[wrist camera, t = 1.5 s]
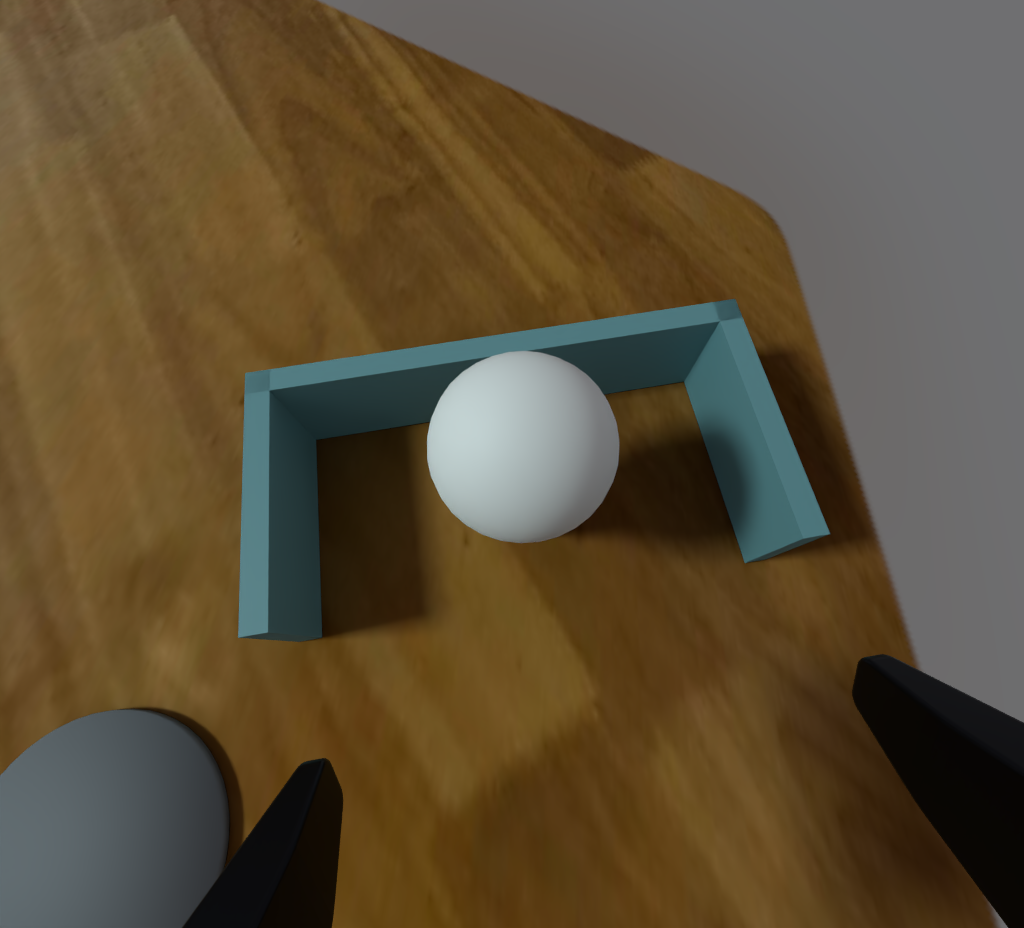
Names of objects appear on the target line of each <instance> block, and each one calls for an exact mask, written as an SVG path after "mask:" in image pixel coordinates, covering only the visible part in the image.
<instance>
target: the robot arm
mask: <svg viewBox="0 0 1024 928" xmlns="http://www.w3.org/2000/svg"><path fill="white" fill-rule="evenodd" d="M852 695H853V700H854V703H855V705H856V707H857V709H858V710H859V712H860V714H861V715H862V717H863V719H864V720H865V722H866V723H867V725H868V727H869V728H870V730H871V731H872V733H873V735H874V736H875V738H876V740H877V741H878V743H879V744H880V746H881V748H882V749H883V751H884V752H885V754H886V756H887V757H888V759H889V761H890V762H891V764H892V765H893V767H894V769H895V770H896V772H897V774H898V775H899V777H900V778H901V780H902V782H903V783H904V785H905V786H906V788H907V789H908V791H909V792H910V794H911V796H912V797H913V799H914V800H915V802H916V803H917V804H918V806H919V807H920V809H921V810H922V811H923V813H924V814H925V816H926V817H927V818H928V820H929V821H930V822H931V824H932V825H933V826H934V828H935V829H936V831H937V832H938V833H939V835H940V836H941V837H942V839H943V840H944V841H945V843H946V844H947V845H948V847H949V848H950V849H951V851H952V852H953V854H954V855H955V856H956V858H957V859H958V860H959V862H960V863H961V864H962V866H963V867H964V868H965V870H966V871H967V873H968V874H969V875H970V877H971V878H972V879H973V881H974V882H975V883H976V885H977V886H978V887H979V889H980V890H981V891H982V893H983V894H984V896H985V897H986V898H987V900H988V901H989V902H990V904H991V905H992V906H993V908H994V909H995V910H996V912H997V913H998V914H999V916H1000V917H1001V919H1002V920H1003V921H1004V923H1005V924H1006V925H1007V927H1008V928H1024V723H1023V722H1021V721H1019V720H1017V719H1015V718H1013V717H1011V716H1009V715H1007V714H1005V713H1003V712H1001V711H999V710H997V709H995V708H993V707H991V706H989V705H987V704H985V703H983V702H981V701H979V700H977V699H975V698H973V697H971V696H969V695H967V694H965V693H963V692H961V691H959V690H957V689H955V688H953V687H951V686H949V685H947V684H945V683H943V682H941V681H939V680H937V679H935V678H933V677H931V676H929V675H927V674H925V673H923V672H921V671H919V670H917V669H915V668H913V667H911V666H909V665H907V664H905V663H903V662H901V661H899V660H897V659H895V658H893V657H891V656H888V655H884V654H882V655H875V656H869V657H864V658H862V659H861V660H859V662H858V665H857V670H856V675H855V679H854V684H853V689H852ZM342 811H343V793H342V789H341V786H340V784H339V781H338V779H337V777H336V774H335V772H334V770H333V767H332V765H331V763H330V761H329V760H328V759H326V758H322V759H316V760H311V761H306V762H303V763H302V764H301V765H300V766H298V768H297V769H296V770H295V772H294V773H293V774H292V776H291V777H290V779H289V780H288V781H287V783H286V784H285V786H284V787H283V788H282V790H281V791H280V792H279V794H278V795H277V797H276V798H275V799H274V801H273V802H272V804H271V805H270V806H269V808H268V809H267V810H266V812H265V813H264V815H263V816H262V817H261V819H260V820H259V822H258V823H257V824H256V826H255V827H254V828H253V830H252V831H251V833H250V834H249V835H248V837H247V838H246V840H245V841H244V842H243V844H242V845H241V846H240V848H239V849H238V851H237V852H236V853H235V855H234V856H233V858H232V859H231V860H230V862H229V863H228V864H227V866H226V867H225V869H224V870H223V871H222V873H221V874H220V876H219V877H218V878H217V880H216V881H215V882H214V884H213V885H212V887H211V888H210V889H209V891H208V892H207V894H206V895H205V896H204V898H203V899H202V900H201V902H200V903H199V905H198V906H197V907H196V909H195V910H194V912H193V913H192V914H191V916H190V917H189V918H188V920H187V921H186V923H185V924H184V925H183V927H182V928H332V922H333V914H334V904H335V894H336V882H337V870H338V859H339V847H340V835H341V823H342Z"/></svg>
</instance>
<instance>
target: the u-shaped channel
mask: <svg viewBox="0 0 1024 928" xmlns="http://www.w3.org/2000/svg"><path fill="white" fill-rule="evenodd" d="M515 351H531V352H541V353H544V354H548V355H551V356H555V357H558V358H560V359H562V360H564V361H566V362H568V363H571V364H573V365H574V366H576V367H577V368H579V369H580V370H581V371H583V372H584V373H585V374H587V375H588V376H589V377H590V378H591V379H592V380H593V381H594V382H595V383H596V385H597V386H598V387H599V388H600V390H601V391H602V393H603V394H608V393H615V392H621V391H627V390H634V389H640V388H646V387H653V386H659V385H665V384H672V383H678V382H684V383H685V386H686V389H687V392H688V395H689V398H690V401H691V404H692V407H693V410H694V413H695V416H696V419H697V422H698V425H699V428H700V431H701V434H702V436H703V439H704V442H705V445H706V448H707V451H708V454H709V457H710V460H711V463H712V466H713V469H714V472H715V475H716V478H717V481H718V484H719V487H720V490H721V493H722V496H723V499H724V502H725V505H726V508H727V511H728V514H729V517H730V520H731V523H732V526H733V529H734V532H735V535H736V538H737V541H738V544H739V547H740V550H741V553H742V556H743V559H744V562H745V563H747V562H753V561H759V560H764V559H768V558H771V557H773V556H776V555H778V554H781V553H783V552H786V551H788V550H791V549H793V548H796V547H798V546H801V545H803V544H806V543H808V542H811V541H813V540H816V539H818V538H821V537H824V536H826V535H829V534H830V532H829V530H828V527H827V525H826V523H825V520H824V518H823V515H822V513H821V510H820V508H819V505H818V503H817V500H816V498H815V495H814V493H813V490H812V488H811V485H810V483H809V481H808V478H807V476H806V473H805V471H804V468H803V466H802V463H801V461H800V458H799V456H798V453H797V451H796V448H795V446H794V444H793V441H792V439H791V436H790V434H789V431H788V429H787V426H786V424H785V421H784V419H783V416H782V414H781V411H780V409H779V407H778V404H777V402H776V399H775V397H774V394H773V392H772V389H771V387H770V384H769V382H768V379H767V377H766V374H765V372H764V369H763V367H762V365H761V362H760V360H759V357H758V355H757V352H756V350H755V347H754V345H753V342H752V340H751V337H750V335H749V332H748V330H747V328H746V325H745V323H744V320H743V318H742V315H741V313H740V310H739V308H738V305H737V303H736V300H735V299H732V300H725V301H718V302H712V303H705V304H699V305H692V306H685V307H679V308H672V309H666V310H659V311H652V312H646V313H639V314H633V315H626V316H619V317H613V318H606V319H600V320H593V321H586V322H580V323H573V324H567V325H560V326H553V327H547V328H540V329H534V330H527V331H520V332H514V333H507V334H501V335H494V336H487V337H481V338H474V339H468V340H461V341H454V342H448V343H441V344H435V345H428V346H421V347H415V348H408V349H402V350H395V351H388V352H382V353H375V354H369V355H362V356H355V357H349V358H342V359H336V360H329V361H323V362H316V363H309V364H303V365H296V366H290V367H283V368H276V369H270V370H263V371H257V372H250V373H245V403H244V441H243V479H242V517H241V555H240V594H239V632H238V638H252V639H267V640H282V641H297V642H300V641H306V640H311V639H317V638H322V615H321V583H320V550H319V518H318V485H317V453H316V440H318V439H325V438H331V437H337V436H344V435H350V434H356V433H362V432H369V431H375V430H381V429H388V428H394V427H400V426H407V425H413V424H419V423H426V422H430V421H431V417H432V415H433V413H434V411H435V408H436V406H437V404H438V402H439V400H440V398H441V396H442V395H443V393H444V392H445V390H446V389H447V388H448V386H449V385H450V383H451V382H452V381H453V380H455V379H456V378H457V377H458V376H459V375H460V374H461V373H462V372H463V371H465V370H466V369H468V368H469V367H471V366H472V365H474V364H475V363H477V362H480V361H482V360H484V359H487V358H489V357H491V356H494V355H498V354H503V353H507V352H515Z"/></svg>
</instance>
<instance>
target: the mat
mask: <svg viewBox="0 0 1024 928" xmlns="http://www.w3.org/2000/svg"><path fill="white" fill-rule="evenodd" d="M229 818H230V817H229V807H228V798H227V793H226V789H225V785H224V780H223V778H222V775H221V772H220V770H219V767H218V764H217V763H216V761H215V759H214V757H213V755H212V754H211V752H210V750H209V749H208V748H207V746H206V745H205V744H204V742H203V741H202V740H201V738H200V737H198V736H197V735H196V734H195V733H194V732H193V731H192V730H191V729H190V728H189V727H187V726H186V725H184V724H183V723H181V722H180V721H178V720H176V719H174V718H172V717H169V716H167V715H165V714H162V713H158V712H154V711H150V710H141V709H121V710H112V711H106V712H101V713H96V714H91V715H88V716H85V717H82V718H79V719H76V720H74V721H72V722H70V723H67V724H65V725H63V726H61V727H59V728H57V729H56V730H54V731H52V732H51V733H49V734H47V735H46V736H44V737H42V738H41V739H40V740H38V741H37V742H36V743H34V744H33V745H32V746H31V747H29V748H28V749H27V750H25V751H24V752H23V753H22V754H21V755H20V756H19V757H18V758H17V759H16V760H15V761H13V762H12V763H11V764H10V766H9V767H8V768H7V769H6V770H5V771H4V772H3V773H2V774H1V775H0V928H182V927H183V925H184V924H185V923H186V921H187V920H188V918H189V917H190V916H191V914H192V913H193V912H194V910H195V909H196V907H197V906H198V905H199V903H200V902H201V900H202V899H203V898H204V896H205V895H206V894H207V892H208V891H209V889H210V888H211V887H212V885H213V884H214V882H215V881H216V880H217V878H218V877H219V876H220V874H221V873H222V871H223V870H224V867H225V862H226V858H227V850H228V842H229Z"/></svg>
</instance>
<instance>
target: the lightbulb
mask: <svg viewBox="0 0 1024 928" xmlns="http://www.w3.org/2000/svg"><path fill="white" fill-rule="evenodd" d="M618 460H619V436H618V430H617V423H616V420H615V418H614V415H613V412H612V410H611V407H610V405H609V403H608V401H607V399H606V398H605V396H604V394H603V393H602V391H601V390H600V388H599V387H598V386H597V385H596V383H595V382H594V381H593V380H592V379H591V378H590V377H589V376H588V375H587V374H585V373H584V372H583V371H581V370H580V369H579V368H577V367H576V366H574V365H573V364H571V363H568V362H566V361H564V360H562V359H560V358H558V357H555V356H551V355H548V354H544V353H541V352H531V351H515V352H507V353H503V354H498V355H494V356H491V357H489V358H487V359H484V360H482V361H480V362H477V363H475V364H474V365H472V366H471V367H469V368H468V369H466V370H465V371H463V372H462V373H461V374H460V375H459V376H458V377H457V378H456V379H455V380H453V381H452V382H451V383H450V385H449V386H448V388H447V389H446V390H445V392H444V393H443V395H442V396H441V398H440V400H439V402H438V404H437V406H436V408H435V411H434V413H433V415H432V417H431V421H430V426H429V431H428V436H427V461H428V465H429V470H430V474H431V478H432V480H433V482H434V484H435V486H436V488H437V491H438V493H439V495H440V497H441V499H442V500H443V501H444V503H445V504H446V505H447V507H448V508H449V509H450V511H451V512H452V513H453V514H454V515H455V516H456V517H457V518H459V519H460V520H461V521H462V522H463V523H464V524H465V525H467V526H469V527H470V528H472V529H474V530H475V531H477V532H479V533H481V534H482V535H485V536H488V537H491V538H494V539H497V540H500V541H508V542H516V543H528V542H541V541H544V540H548V539H552V538H555V537H559V536H561V535H563V534H565V533H567V532H569V531H571V530H573V529H575V528H576V527H578V526H579V525H580V524H581V523H583V522H584V521H585V520H587V519H588V518H589V517H590V516H591V515H592V514H593V513H594V512H595V510H596V509H597V508H598V507H599V506H600V504H601V503H602V502H603V500H604V498H605V496H606V494H607V492H608V491H609V489H610V487H611V485H612V483H613V481H614V477H615V474H616V470H617V467H618Z"/></svg>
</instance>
